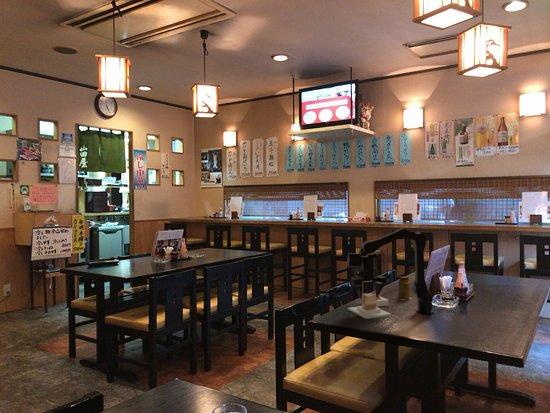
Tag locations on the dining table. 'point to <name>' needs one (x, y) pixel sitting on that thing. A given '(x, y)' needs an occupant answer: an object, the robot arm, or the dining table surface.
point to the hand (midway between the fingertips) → (368, 297)
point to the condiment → (404, 288)
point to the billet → (368, 301)
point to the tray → (369, 312)
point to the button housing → (382, 302)
